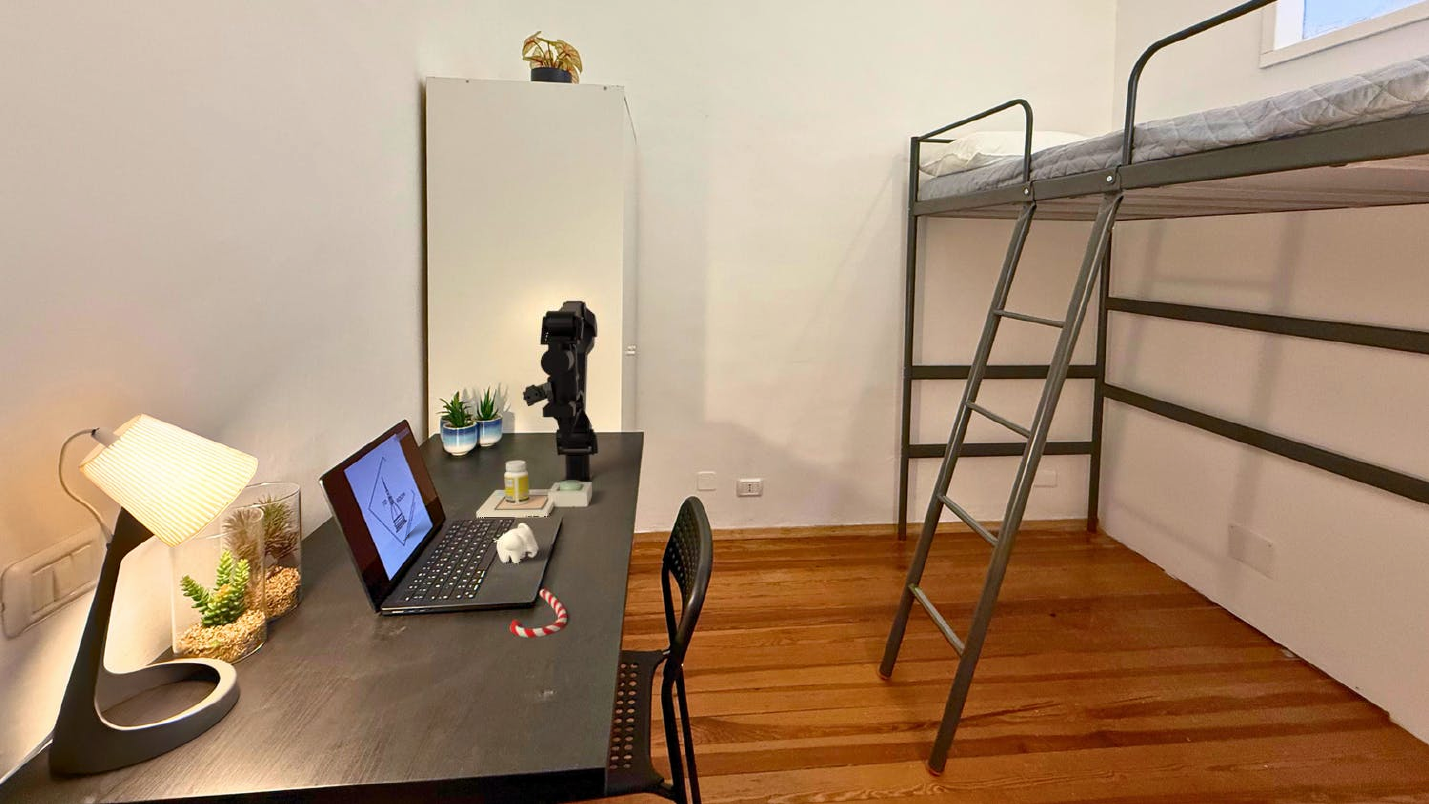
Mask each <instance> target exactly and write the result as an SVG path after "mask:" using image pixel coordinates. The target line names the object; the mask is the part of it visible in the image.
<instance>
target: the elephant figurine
mask: <svg viewBox="0 0 1429 804" xmlns="http://www.w3.org/2000/svg"><path fill="white" fill-rule="evenodd" d="M492 540H494V541H496V550H497V553H498V556H499V559H500V561H501V562H502V563H504V564H506V562H507V563H509V561H510V560H511V562H512V563H514V564H516V563H517V564H520V563H521V560H520V559H522V558H524V557H526V552H528V553H527V557H529V558H534V557H535V556H536V555H537V554H538V553H537V552H538V550H540V548H539V546H538V543H537V541H536V538H535V535H534V533H533V530H532V529H531V528H530V527H529V525H527V523H525V522H521V523H518V525H517V527H516V528H512V529H509V530H508V531H506V532H505V533H504V534H503V535H502V536H500V537H499V538H498V539H496V538H495V537H493V539H492ZM509 558H511V559H509ZM524 559H525V558H524ZM519 562H520V563H519Z"/></svg>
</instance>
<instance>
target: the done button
mask: <svg viewBox="0 0 1429 804" xmlns="http://www.w3.org/2000/svg"><path fill="white" fill-rule="evenodd" d="M559 483H560V491H581V482H580V481H577V480H567V481H562V480H561V481H560V482H559Z"/></svg>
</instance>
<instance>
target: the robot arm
mask: <svg viewBox="0 0 1429 804" xmlns="http://www.w3.org/2000/svg"><path fill="white" fill-rule="evenodd" d="M541 320H542V322H541V333H540V344H539V345H541V346H547V350H546V351H545V352H544V353H543V354H542V356H541V359H540V367H541V370H542V371H543V372H544V373H545V374H546V375H547V376H548V377H547V378H546V382H543V383H541V384H539V385H535V384H531V385H528V386H526V387H525V390H524V391H523V392H522V395H523V397H522V399H523V401H525V402H526V405H527V407H531V406H534V405H535V404H537V403H539V402H542V401H544V400H546V401H547V403H546V404H544V406H543V407H542V417H543V418H553V419H554V420H555V421H556V423H557V426H558V429H556V433H555V443H556V451H557V453H556V454H557V456H564V468H565V471H564V472H565V473H564V476H563V478H562V479H561V482H562V481H567V480H577V481H580V482H592V481H591V480H592V479H593V476H594V472H591V456H594V455H595V454H599V441H598V437H597V434H596V433H595V430H594V428H593V425H592V423H591V421H590V417H588V415H587V413H586V409H587V408H586V407H587V383H588V382H587V381H588V379H587V378H588V376H587V375H588V357H589V354H590V353H591V351H592V350H593V349H594V348H595V342H596V341H595V340H596V339H595V338H597V337H598V322H597V317H596V314H595V313H594V312H593V311H591V310H590V309H589V308H587V304H586V302H585V301H583V300H566V301H563V302H562V306H561V307H560V308H559V309H558V310H547V311H546V312H545V315H544V316H543V317H542V319H541Z"/></svg>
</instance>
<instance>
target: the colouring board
mask: <svg viewBox="0 0 1429 804" xmlns="http://www.w3.org/2000/svg"><path fill="white" fill-rule="evenodd" d="M550 489H551V488H549V489H545V488H544V489H529V502H528V503H526V504H522V505H509V504H507V503H506V495H505V489H495V490H494V491H493V493H492V494H491V495H490V496H489V497H488V498H487V499H486V500H485V502H484V503H483V504H482V505H481V506H480V507H479V509H478V510H476V519H485V518H484V517H515V518H529V517H528V516H532V517H531V518H534V517H533V516H539V517H538V518H548V517H549V515H550V514H551V512H552V510H553V509H554V507H553V501H548V492H549V491H550ZM549 513H550V514H549ZM526 516H527V517H526ZM544 516H546V517H544ZM547 516H548V517H547ZM478 517H479V518H478ZM480 517H481V518H480ZM482 517H483V518H482Z"/></svg>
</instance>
